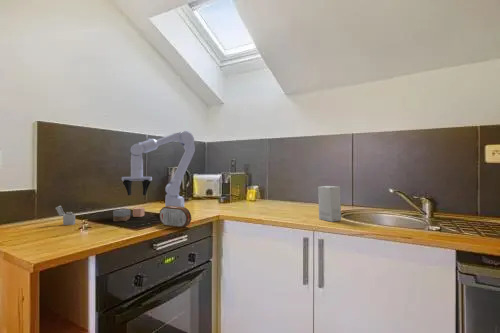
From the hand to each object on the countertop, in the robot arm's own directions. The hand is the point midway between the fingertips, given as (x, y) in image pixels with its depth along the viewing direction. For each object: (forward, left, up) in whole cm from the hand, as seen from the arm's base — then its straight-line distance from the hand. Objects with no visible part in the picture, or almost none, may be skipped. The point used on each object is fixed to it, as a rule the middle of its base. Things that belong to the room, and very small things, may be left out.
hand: (137, 195), depth 137 cm
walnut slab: (+2, +11, -11) cm, 15 cm away
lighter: (+21, +22, -11) cm, 32 cm away
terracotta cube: (-1, +1, -10) cm, 11 cm away
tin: (-27, +22, -11) cm, 37 cm away
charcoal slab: (+2, +11, -8) cm, 14 cm away
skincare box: (-94, +4, -11) cm, 95 cm away
